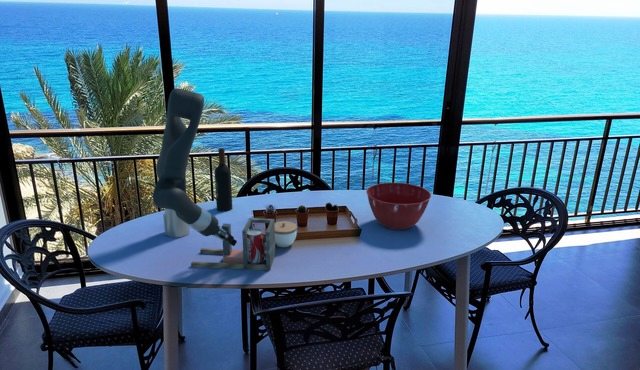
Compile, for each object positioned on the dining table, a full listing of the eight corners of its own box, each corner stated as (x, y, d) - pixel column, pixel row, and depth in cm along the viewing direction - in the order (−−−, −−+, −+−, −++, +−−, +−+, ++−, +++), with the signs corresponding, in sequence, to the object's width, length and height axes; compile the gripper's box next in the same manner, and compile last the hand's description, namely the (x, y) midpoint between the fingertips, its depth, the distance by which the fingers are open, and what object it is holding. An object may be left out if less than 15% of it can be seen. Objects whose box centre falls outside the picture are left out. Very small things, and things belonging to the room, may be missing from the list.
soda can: (263, 265, 164) (262, 236, 161) (244, 265, 165) (242, 235, 161) (266, 256, 171) (265, 228, 167) (248, 256, 172) (247, 227, 168)
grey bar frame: (191, 266, 163) (188, 229, 158) (201, 251, 174) (198, 216, 170) (270, 270, 162) (269, 232, 157) (275, 254, 173) (274, 219, 168)
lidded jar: (272, 237, 187) (272, 217, 184) (297, 238, 187) (297, 217, 184) (268, 249, 177) (268, 227, 174) (295, 250, 177) (295, 228, 174)
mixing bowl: (400, 243, 185) (403, 208, 180) (351, 222, 205) (353, 190, 200) (440, 225, 202) (444, 193, 197) (391, 208, 223) (393, 178, 218)
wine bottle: (224, 212, 213) (221, 151, 204) (213, 209, 217) (209, 149, 207) (235, 207, 219) (232, 148, 210) (224, 204, 223) (221, 146, 214)
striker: (222, 263, 165) (220, 228, 161) (226, 255, 171) (224, 221, 166) (244, 264, 165) (243, 229, 160) (248, 256, 170) (246, 222, 166)
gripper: (220, 217, 151) (249, 238, 164) (196, 206, 160) (225, 227, 173) (208, 236, 149) (238, 256, 162) (184, 224, 158) (214, 244, 171)
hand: (231, 241), depth 167 cm, fingers closed on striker, 3 cm apart
